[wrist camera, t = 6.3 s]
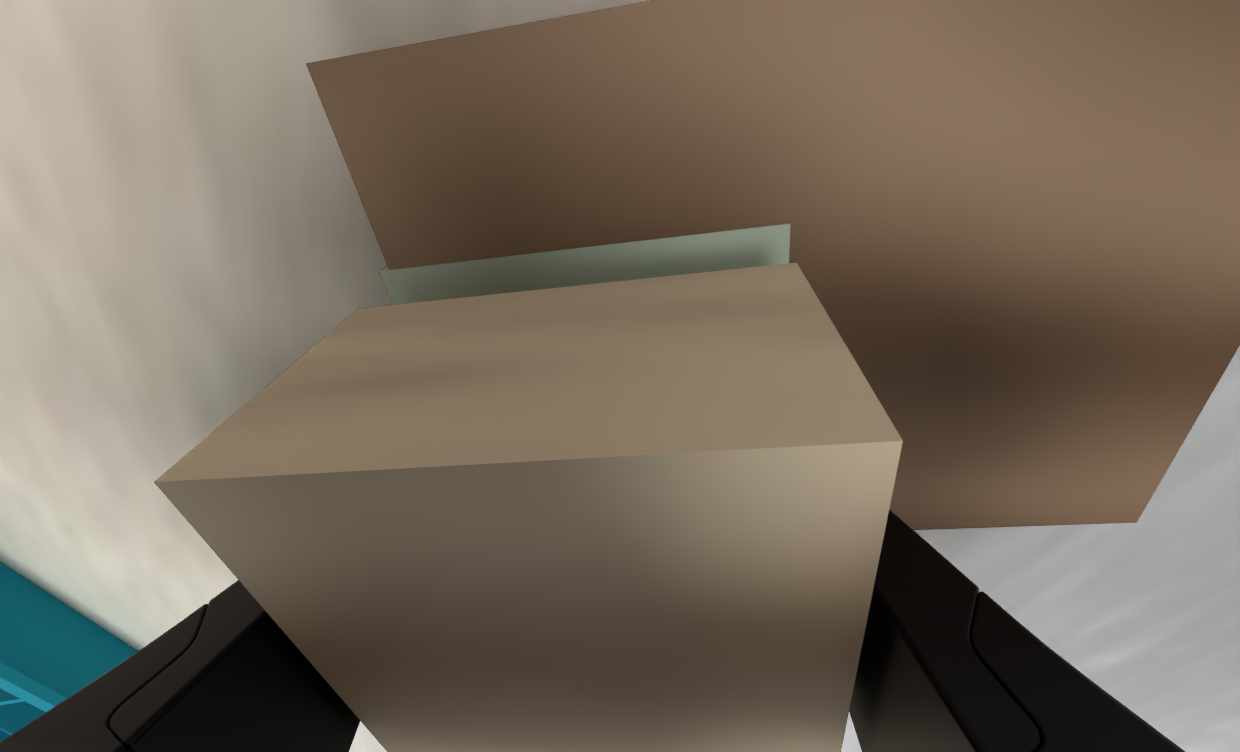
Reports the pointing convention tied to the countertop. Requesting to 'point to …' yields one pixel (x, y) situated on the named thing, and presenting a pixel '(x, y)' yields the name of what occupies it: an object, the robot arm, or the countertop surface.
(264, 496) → the beech block
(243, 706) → the robot arm
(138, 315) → the countertop surface
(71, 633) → the ice cube tray
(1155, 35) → the board
